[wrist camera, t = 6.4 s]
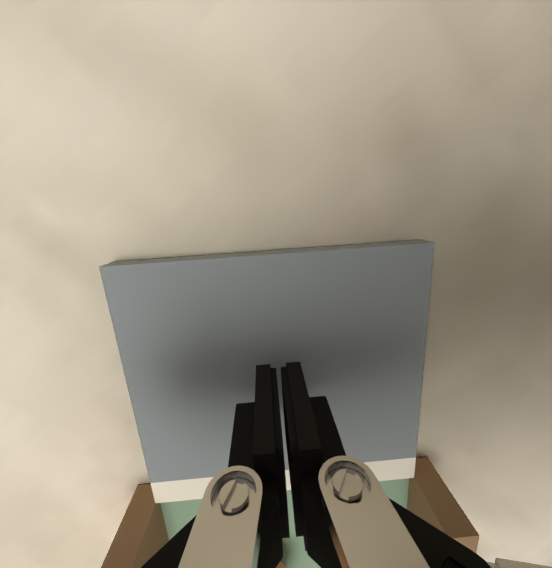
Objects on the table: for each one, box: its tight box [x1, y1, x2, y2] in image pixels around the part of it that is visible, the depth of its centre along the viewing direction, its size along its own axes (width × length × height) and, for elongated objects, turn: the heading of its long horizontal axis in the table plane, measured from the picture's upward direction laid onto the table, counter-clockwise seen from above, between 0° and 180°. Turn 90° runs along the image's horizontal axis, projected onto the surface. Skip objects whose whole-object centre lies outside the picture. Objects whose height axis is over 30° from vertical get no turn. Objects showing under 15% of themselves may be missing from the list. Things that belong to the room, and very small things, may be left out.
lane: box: [99, 240, 479, 568], centre depth 12 cm, size 14×22×4 cm, turn 4°
